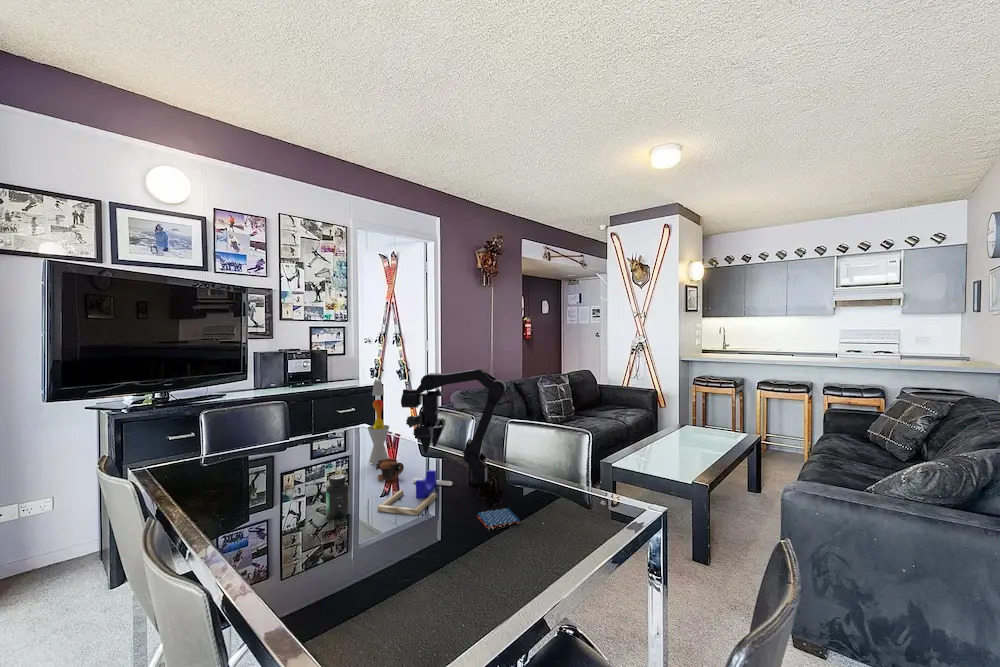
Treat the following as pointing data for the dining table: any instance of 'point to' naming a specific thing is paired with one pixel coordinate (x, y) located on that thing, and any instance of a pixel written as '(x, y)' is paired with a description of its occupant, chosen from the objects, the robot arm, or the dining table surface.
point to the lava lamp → (378, 427)
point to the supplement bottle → (337, 497)
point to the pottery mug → (389, 469)
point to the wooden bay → (402, 510)
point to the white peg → (437, 482)
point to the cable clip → (426, 484)
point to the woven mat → (497, 518)
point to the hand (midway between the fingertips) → (430, 449)
